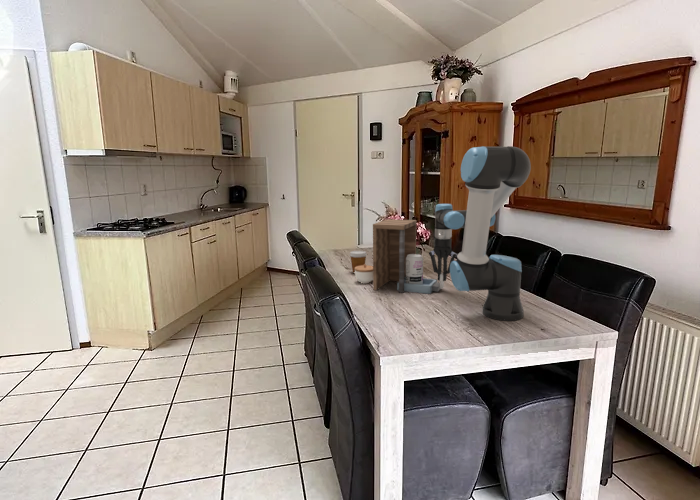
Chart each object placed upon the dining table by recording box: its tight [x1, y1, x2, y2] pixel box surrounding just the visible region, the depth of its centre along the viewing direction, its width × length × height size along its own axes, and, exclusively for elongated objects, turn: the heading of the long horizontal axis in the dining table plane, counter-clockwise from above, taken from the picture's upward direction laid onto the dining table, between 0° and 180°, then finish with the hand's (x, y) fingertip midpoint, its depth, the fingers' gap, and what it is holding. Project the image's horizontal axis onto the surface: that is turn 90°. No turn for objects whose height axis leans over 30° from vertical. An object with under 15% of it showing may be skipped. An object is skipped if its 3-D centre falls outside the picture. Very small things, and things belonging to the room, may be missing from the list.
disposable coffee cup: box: [349, 250, 368, 273], centre depth 229 cm, size 10×10×12 cm
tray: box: [396, 277, 442, 295], centre depth 196 cm, size 13×19×4 cm
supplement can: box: [406, 253, 424, 285], centre depth 196 cm, size 8×8×15 cm
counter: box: [372, 218, 417, 294], centre depth 199 cm, size 20×15×32 cm
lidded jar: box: [354, 263, 373, 284], centre depth 210 cm, size 11×11×9 cm
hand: (441, 287), depth 192 cm, fingers closed
